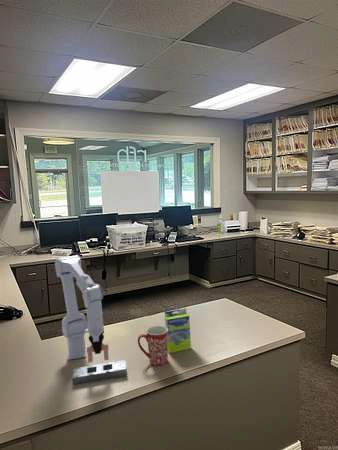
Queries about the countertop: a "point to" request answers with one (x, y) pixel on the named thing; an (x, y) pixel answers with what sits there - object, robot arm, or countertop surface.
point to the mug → (156, 345)
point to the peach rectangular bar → (104, 347)
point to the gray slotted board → (99, 372)
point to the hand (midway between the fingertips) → (98, 351)
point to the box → (178, 330)
